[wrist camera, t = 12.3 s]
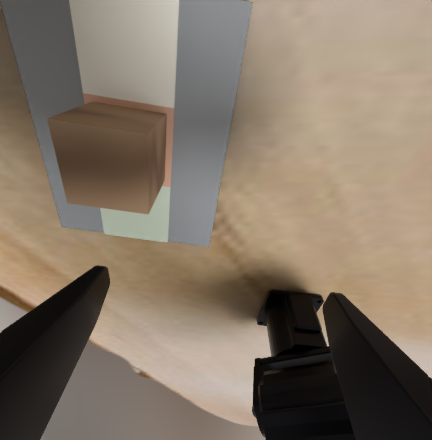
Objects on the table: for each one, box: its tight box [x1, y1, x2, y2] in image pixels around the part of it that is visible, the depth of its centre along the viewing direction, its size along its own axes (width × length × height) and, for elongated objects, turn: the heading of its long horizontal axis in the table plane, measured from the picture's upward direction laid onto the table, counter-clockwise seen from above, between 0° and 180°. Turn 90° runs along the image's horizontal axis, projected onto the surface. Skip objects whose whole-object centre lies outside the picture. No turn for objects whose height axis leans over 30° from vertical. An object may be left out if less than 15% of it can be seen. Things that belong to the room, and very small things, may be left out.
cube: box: [47, 102, 167, 215], centre depth 16 cm, size 5×5×5 cm
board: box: [0, 0, 253, 247], centre depth 18 cm, size 18×14×1 cm
